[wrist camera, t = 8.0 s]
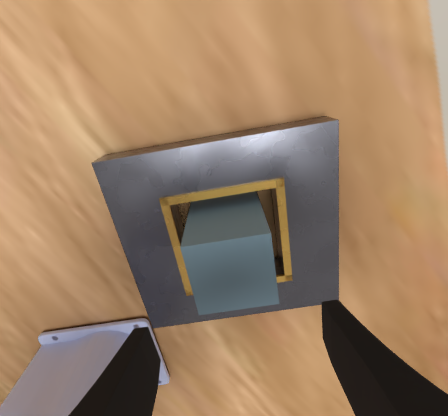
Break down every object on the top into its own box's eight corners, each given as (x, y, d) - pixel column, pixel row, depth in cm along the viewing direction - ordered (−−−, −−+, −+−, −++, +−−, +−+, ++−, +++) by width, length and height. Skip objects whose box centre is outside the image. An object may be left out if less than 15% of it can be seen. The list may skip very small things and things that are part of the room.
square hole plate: (158, 308, 23) (152, 330, 21) (104, 154, 18) (90, 163, 16) (328, 284, 22) (339, 304, 20) (325, 116, 17) (340, 120, 15)
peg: (204, 255, 21) (198, 315, 15) (191, 200, 19) (180, 247, 14) (263, 245, 21) (279, 303, 15) (256, 189, 19) (271, 233, 13)
